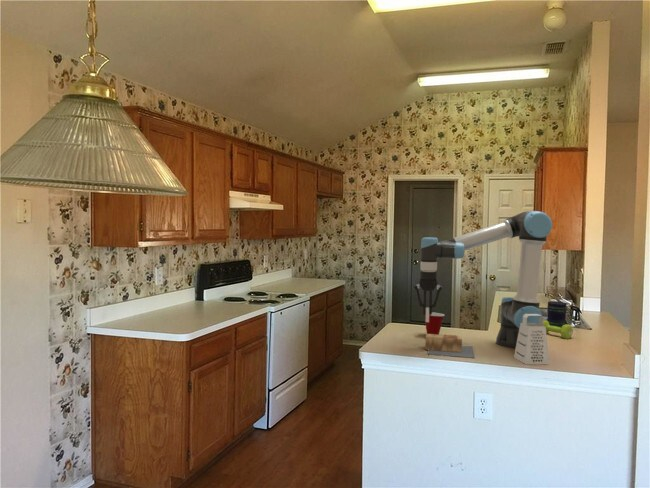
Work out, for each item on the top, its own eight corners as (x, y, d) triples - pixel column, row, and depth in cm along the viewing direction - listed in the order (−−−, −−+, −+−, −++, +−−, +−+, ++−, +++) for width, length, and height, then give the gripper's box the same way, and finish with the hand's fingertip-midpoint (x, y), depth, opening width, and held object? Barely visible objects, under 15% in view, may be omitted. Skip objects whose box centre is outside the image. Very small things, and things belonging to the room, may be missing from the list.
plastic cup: (448, 336, 252) (449, 313, 251) (433, 339, 246) (434, 315, 245) (432, 332, 261) (433, 310, 260) (418, 335, 255) (418, 312, 254)
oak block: (425, 346, 231) (460, 349, 227) (425, 349, 225) (461, 352, 221) (426, 333, 230) (461, 335, 227) (425, 335, 225) (461, 338, 221)
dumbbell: (536, 333, 264) (536, 320, 264) (544, 332, 269) (544, 319, 268) (566, 340, 251) (566, 326, 250) (574, 338, 255) (574, 324, 255)
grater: (549, 364, 207) (551, 317, 206) (525, 364, 206) (527, 317, 205) (536, 357, 217) (538, 312, 216) (513, 357, 216) (515, 312, 215)
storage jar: (542, 327, 279) (543, 301, 278) (554, 326, 283) (555, 300, 282) (557, 331, 270) (558, 304, 269) (569, 330, 274) (570, 303, 273)
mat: (472, 346, 233) (472, 346, 233) (475, 358, 213) (475, 357, 213) (429, 343, 237) (429, 343, 237) (428, 354, 218) (428, 353, 218)
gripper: (443, 270, 228) (441, 320, 229) (414, 269, 231) (413, 319, 232) (443, 272, 221) (441, 324, 222) (413, 271, 224) (412, 322, 225)
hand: (427, 321), depth 227 cm, fingers closed
